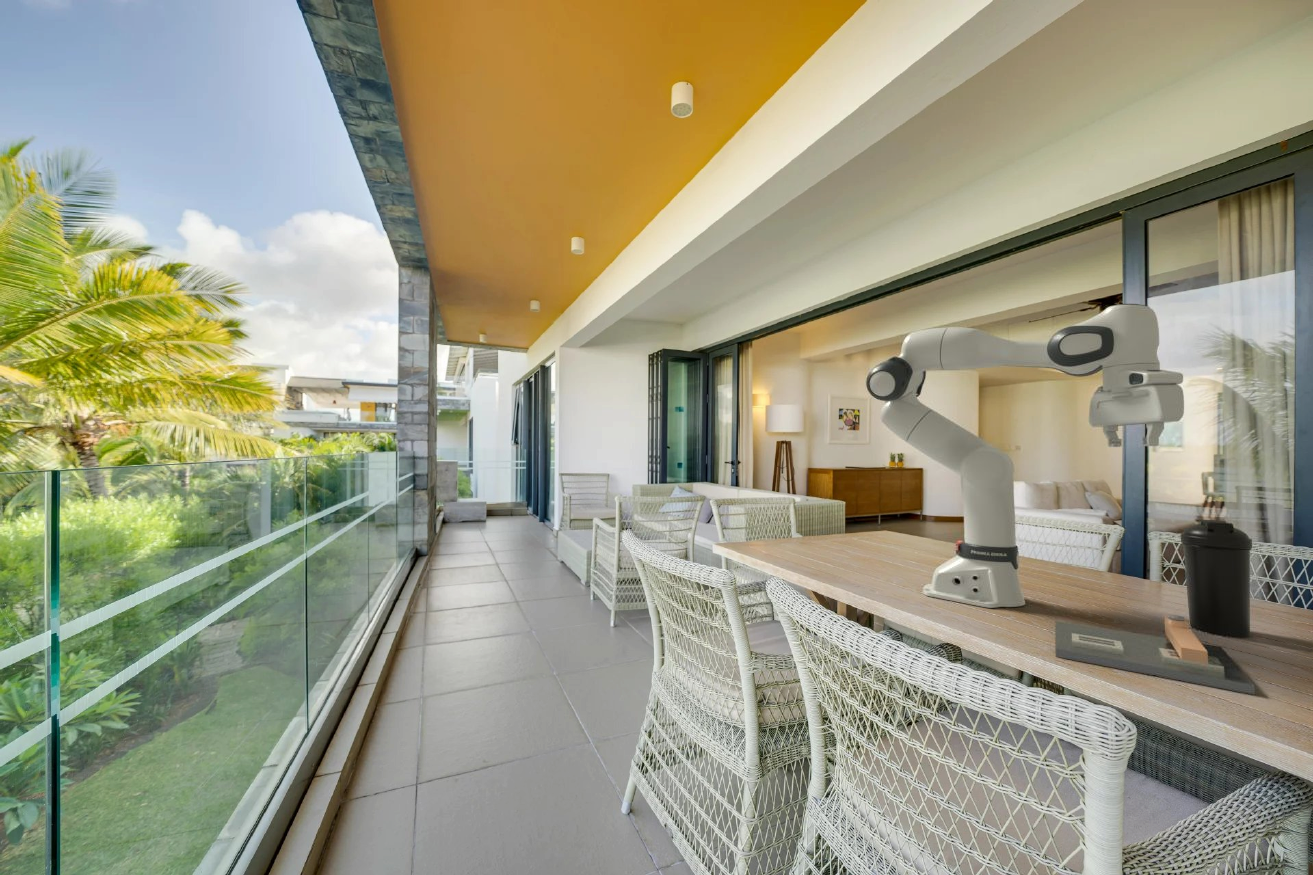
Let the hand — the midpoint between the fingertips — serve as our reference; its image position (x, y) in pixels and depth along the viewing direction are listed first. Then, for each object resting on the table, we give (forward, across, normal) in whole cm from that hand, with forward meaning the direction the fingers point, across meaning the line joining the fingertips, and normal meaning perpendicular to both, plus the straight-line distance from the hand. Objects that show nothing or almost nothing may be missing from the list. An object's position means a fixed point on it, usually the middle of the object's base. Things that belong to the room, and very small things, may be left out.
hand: (1132, 446), depth 106 cm
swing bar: (+37, +16, -4) cm, 40 cm away
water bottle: (+39, -4, +19) cm, 43 cm away
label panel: (+39, +13, -9) cm, 42 cm away
